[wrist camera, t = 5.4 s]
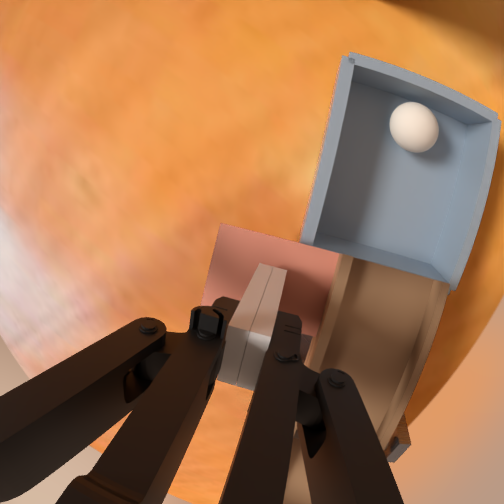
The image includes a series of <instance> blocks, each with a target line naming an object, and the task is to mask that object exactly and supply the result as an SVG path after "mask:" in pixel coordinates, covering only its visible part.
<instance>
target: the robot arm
mask: <svg viewBox="0 0 504 504" xmlns="http://www.w3.org/2000/svg"><path fill="white" fill-rule="evenodd" d="M286 273H287V270H284V269H281V268H277V267H273V266H269V265H265V264H261V263H259V265H258V267H257V269H256V271H255V273H254V275H253V277H252V279H251V281H250V283H249V285H248V287H247V289H246V291H245V293H244V295H243V297H242V299H241V301H239V300H235V299H232V298H228V297H225V296H222V297H220V298H218V299H216V300H215V301H214V303H213V304H212V306H198V307H195V308H193V309H192V310H191V317H190V325H189V330H188V331H187V332H185V333H175V332H167V331H166V326H165V324H164V323H163V322H161V321H160V320H157V319H155V318H149V317H145V318H139V319H136V320H134V321H132V322H131V323H129V324H127V325H125V326H124V327H122V328H120V329H118V330H117V331H115V332H113V333H111V334H110V335H108V336H106V337H104V338H103V339H101V340H99V341H97V342H96V343H94V344H92V345H90V346H88V347H87V348H85V349H83V350H81V351H80V352H78V353H76V354H74V355H73V356H71V357H69V358H67V359H66V360H64V361H62V362H60V363H59V364H57V365H55V366H53V367H51V368H50V369H48V370H46V371H44V372H43V373H41V374H39V375H37V376H36V377H34V378H32V379H30V380H29V381H27V382H25V383H23V384H22V385H20V386H18V387H16V388H14V389H13V390H11V391H9V392H7V393H6V394H4V395H2V396H0V502H4V501H8V500H11V499H13V498H16V497H18V496H20V495H22V494H23V493H25V492H27V491H28V490H30V489H31V488H33V487H34V486H35V485H37V484H38V483H40V482H41V481H42V480H44V479H45V478H46V477H48V476H49V475H50V474H52V473H53V472H55V471H56V470H57V469H59V468H60V467H61V466H62V465H64V464H65V463H66V462H68V461H69V460H70V459H72V458H73V457H74V456H76V455H77V454H78V453H79V452H81V451H82V450H83V449H85V448H86V447H87V446H88V445H90V444H91V443H92V442H93V441H95V440H96V439H97V438H99V437H100V436H101V435H102V434H104V433H105V432H106V431H107V430H109V429H110V428H111V427H112V426H113V425H115V424H116V423H117V422H118V421H120V420H121V419H122V418H123V417H125V416H126V415H127V414H128V413H129V412H131V411H132V412H131V413H130V415H129V416H128V418H127V419H126V420H125V422H124V423H123V425H122V426H121V428H120V429H119V431H118V432H117V434H116V435H115V436H114V438H113V439H112V441H111V442H110V444H109V445H108V447H107V448H106V450H105V451H104V453H103V454H102V455H101V457H100V458H99V460H98V461H97V463H96V464H95V466H94V467H93V469H92V470H91V471H90V472H89V473H88V474H87V475H84V476H78V477H76V478H75V479H73V480H72V482H71V483H70V484H69V485H68V486H67V488H66V489H65V491H64V492H63V493H62V495H61V496H60V498H59V499H58V501H57V502H56V503H55V504H162V503H163V501H164V498H165V496H166V494H167V492H168V490H169V488H170V485H171V483H172V481H173V479H174V477H175V475H176V472H177V470H178V468H179V466H180V464H181V461H182V459H183V457H184V455H185V453H186V450H187V448H188V446H189V444H190V441H191V439H192V437H193V435H194V433H195V430H196V428H197V426H198V424H199V421H200V419H201V417H202V415H203V412H204V410H205V408H206V405H207V403H208V401H209V399H210V396H211V394H212V392H213V390H214V385H215V380H216V378H217V376H218V378H217V380H219V381H222V382H225V383H229V384H232V385H235V386H239V387H242V388H246V389H250V390H253V391H254V393H253V396H252V399H251V402H250V405H249V408H248V411H247V416H246V419H245V422H244V426H243V429H242V432H241V435H240V439H239V442H238V445H237V448H236V452H235V455H234V458H233V461H232V464H231V467H230V470H229V473H228V476H227V479H226V483H225V486H224V489H223V492H222V495H221V497H220V500H219V503H218V504H283V501H284V495H285V489H286V483H287V477H288V471H289V464H290V457H291V450H292V443H293V436H294V428H295V421H296V422H297V430H298V435H299V440H300V445H301V450H302V456H303V461H304V466H305V471H306V476H307V482H308V487H309V492H310V498H311V503H312V504H404V503H403V500H402V497H401V495H400V492H399V489H398V487H397V484H396V481H395V479H394V476H393V474H392V472H391V469H390V466H389V463H388V461H387V458H386V456H385V453H384V451H383V449H382V446H381V444H380V441H379V439H378V436H377V434H376V431H375V429H374V427H373V424H372V422H371V419H370V417H369V415H368V412H367V410H366V408H365V405H364V403H363V401H362V398H361V396H360V394H359V391H358V389H357V387H356V384H355V382H354V380H353V379H352V377H351V376H350V375H349V374H347V373H346V372H344V371H342V370H339V369H334V368H329V369H325V370H323V371H322V372H321V373H317V372H315V371H313V370H311V369H309V368H308V367H307V366H305V365H304V364H303V362H302V358H301V355H300V343H301V332H302V321H301V319H300V318H299V316H298V315H294V314H290V313H286V312H283V311H279V310H278V308H279V303H280V299H281V295H282V290H283V286H284V282H285V277H286ZM236 383H237V384H236Z"/></svg>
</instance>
